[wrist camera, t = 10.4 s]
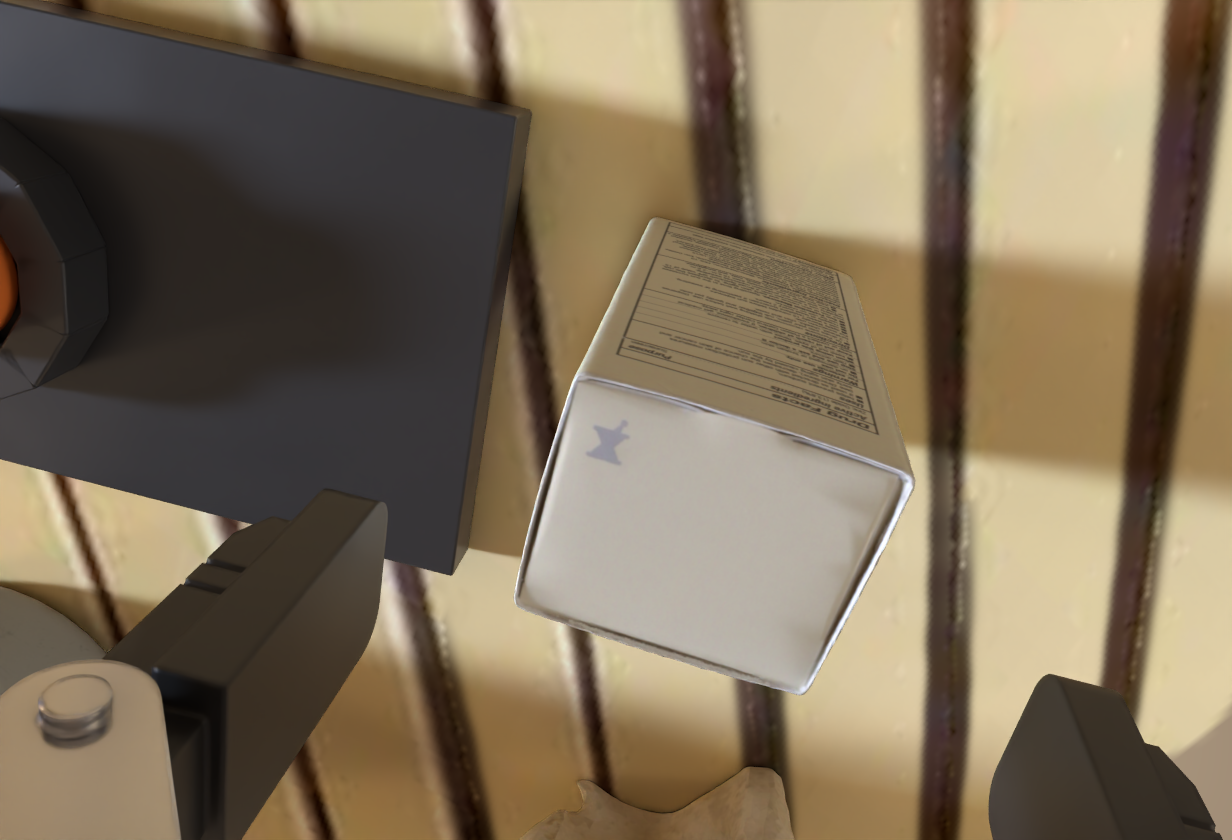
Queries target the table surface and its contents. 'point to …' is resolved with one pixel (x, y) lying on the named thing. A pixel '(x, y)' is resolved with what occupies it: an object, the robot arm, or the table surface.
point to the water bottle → (37, 638)
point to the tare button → (7, 284)
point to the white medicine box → (720, 463)
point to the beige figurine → (679, 815)
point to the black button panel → (250, 274)
